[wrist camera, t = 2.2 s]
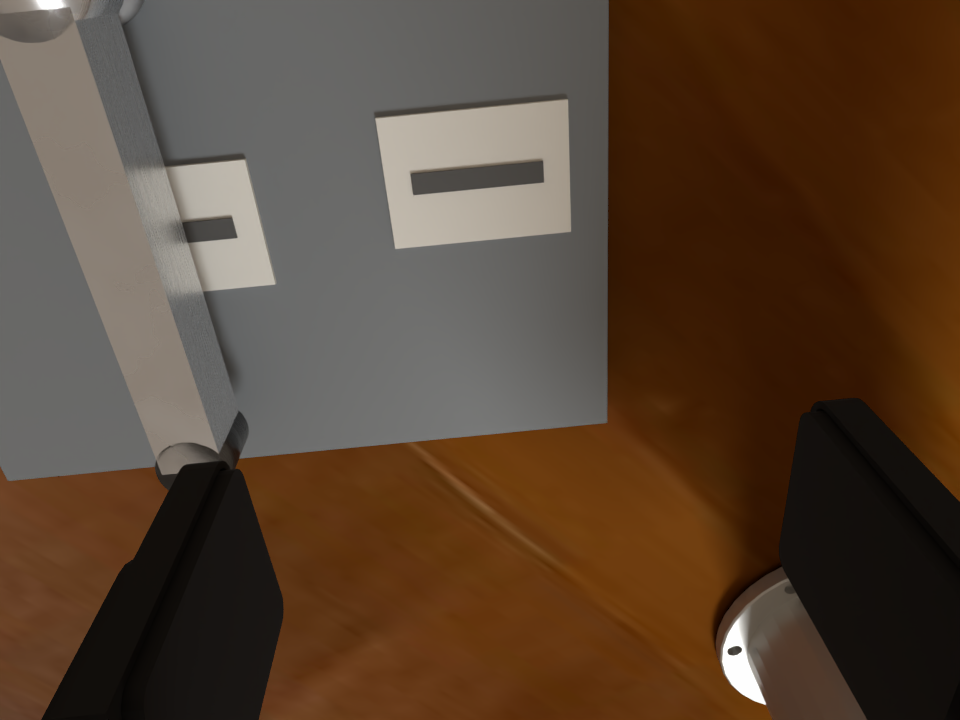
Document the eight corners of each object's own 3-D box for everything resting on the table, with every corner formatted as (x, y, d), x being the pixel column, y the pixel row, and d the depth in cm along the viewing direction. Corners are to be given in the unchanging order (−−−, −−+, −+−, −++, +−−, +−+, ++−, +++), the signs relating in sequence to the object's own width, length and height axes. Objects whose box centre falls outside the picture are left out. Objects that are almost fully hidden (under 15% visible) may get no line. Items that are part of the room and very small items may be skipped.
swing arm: (-21, -96, 21) (-88, -104, 18) (102, -108, 21) (53, -118, 18) (182, 457, 31) (157, 504, 28) (265, 449, 31) (248, 495, 28)
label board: (601, -154, 23) (619, -166, 21) (602, 408, 34) (613, 441, 32) (-251, -69, 23) (-329, -73, 21) (21, 464, 34) (-10, 502, 32)
